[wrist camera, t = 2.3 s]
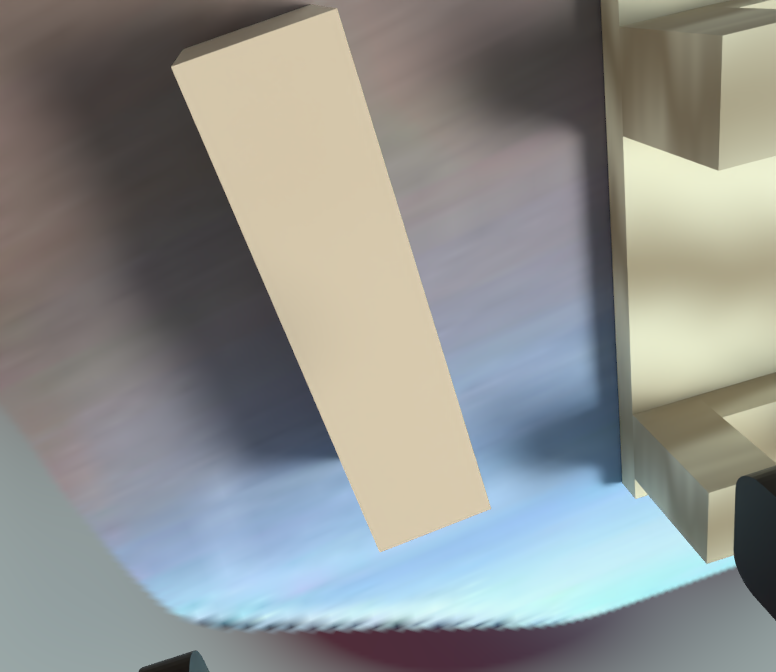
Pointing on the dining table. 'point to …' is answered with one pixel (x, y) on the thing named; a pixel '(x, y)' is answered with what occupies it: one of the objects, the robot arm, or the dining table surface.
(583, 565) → the dining table surface
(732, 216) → the rack
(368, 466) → the clay bar
